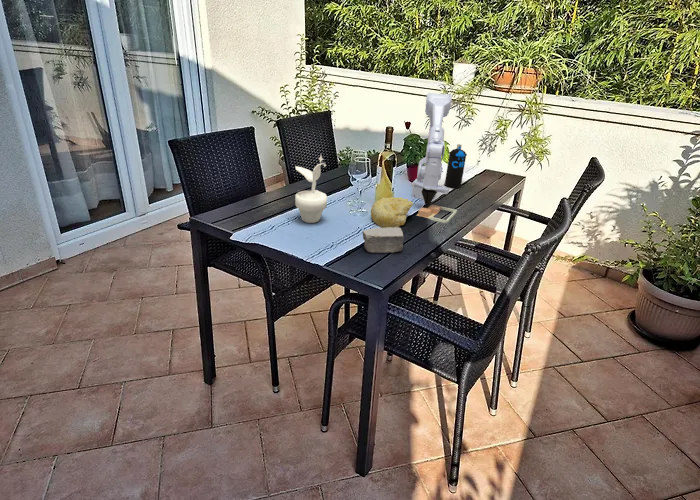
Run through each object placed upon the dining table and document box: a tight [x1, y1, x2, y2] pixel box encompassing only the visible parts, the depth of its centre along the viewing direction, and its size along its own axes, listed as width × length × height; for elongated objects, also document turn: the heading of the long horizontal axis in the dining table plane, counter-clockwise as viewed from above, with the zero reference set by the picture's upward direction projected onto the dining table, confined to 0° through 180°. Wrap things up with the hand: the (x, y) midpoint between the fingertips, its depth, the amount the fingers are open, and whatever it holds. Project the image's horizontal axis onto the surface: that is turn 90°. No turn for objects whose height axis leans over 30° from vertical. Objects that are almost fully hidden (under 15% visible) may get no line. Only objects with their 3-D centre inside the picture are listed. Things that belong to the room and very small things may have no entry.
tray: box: [429, 206, 458, 225], centre depth 177 cm, size 6×14×2 cm, turn 152°
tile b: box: [417, 207, 432, 218], centre depth 177 cm, size 4×4×2 cm
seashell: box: [370, 196, 414, 228], centre depth 169 cm, size 17×11×15 cm
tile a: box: [428, 204, 442, 215], centre depth 180 cm, size 4×4×2 cm
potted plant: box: [294, 155, 328, 224], centre depth 164 cm, size 13×12×25 cm
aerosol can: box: [443, 143, 468, 190], centre depth 213 cm, size 8×8×20 cm
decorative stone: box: [362, 227, 404, 254], centre depth 149 cm, size 15×7×10 cm
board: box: [416, 208, 436, 220], centre depth 180 cm, size 6×12×2 cm, turn 152°
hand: (427, 207), depth 181 cm, fingers closed
